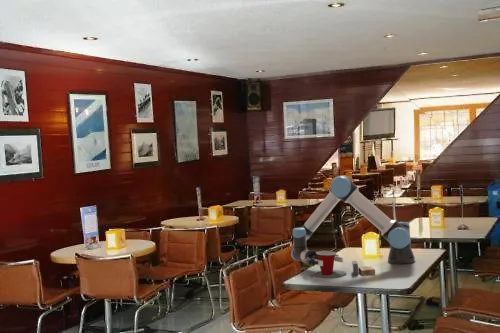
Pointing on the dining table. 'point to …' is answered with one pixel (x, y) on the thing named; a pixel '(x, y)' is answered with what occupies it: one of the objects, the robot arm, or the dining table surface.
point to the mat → (334, 275)
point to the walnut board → (366, 270)
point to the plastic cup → (326, 261)
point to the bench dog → (355, 267)
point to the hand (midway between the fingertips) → (332, 261)
